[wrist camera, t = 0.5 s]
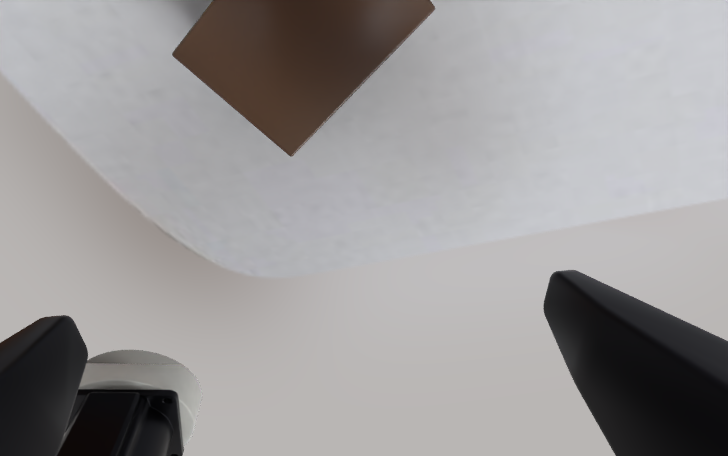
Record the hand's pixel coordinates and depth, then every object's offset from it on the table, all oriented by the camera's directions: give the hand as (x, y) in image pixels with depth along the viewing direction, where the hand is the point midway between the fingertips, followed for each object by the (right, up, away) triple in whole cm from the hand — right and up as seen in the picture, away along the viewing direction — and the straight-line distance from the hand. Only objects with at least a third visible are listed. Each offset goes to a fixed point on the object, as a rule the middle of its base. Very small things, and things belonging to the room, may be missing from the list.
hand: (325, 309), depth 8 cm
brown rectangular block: (-2, +10, +8) cm, 13 cm away
